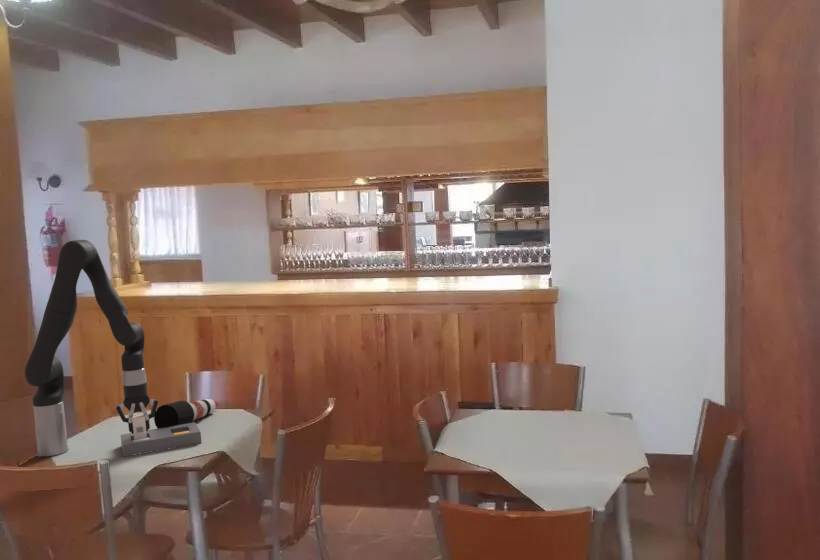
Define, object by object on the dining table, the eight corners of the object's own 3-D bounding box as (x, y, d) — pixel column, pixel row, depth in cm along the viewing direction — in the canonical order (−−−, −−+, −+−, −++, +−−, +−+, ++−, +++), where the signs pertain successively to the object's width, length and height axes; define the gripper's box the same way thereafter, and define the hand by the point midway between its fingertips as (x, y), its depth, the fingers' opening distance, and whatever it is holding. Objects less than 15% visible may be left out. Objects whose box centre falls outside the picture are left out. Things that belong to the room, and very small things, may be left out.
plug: (135, 451, 247) (132, 419, 246) (134, 447, 251) (131, 416, 250) (148, 449, 249) (145, 417, 248) (147, 445, 253) (143, 414, 252)
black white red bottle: (221, 421, 296) (230, 398, 295) (172, 438, 263) (182, 412, 262) (200, 409, 298) (210, 387, 297) (149, 424, 266) (160, 399, 265)
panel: (123, 457, 242) (122, 444, 241) (121, 446, 254) (120, 434, 254) (201, 443, 252) (200, 431, 251) (195, 433, 264) (194, 421, 264)
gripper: (112, 387, 242) (117, 438, 244) (157, 381, 248) (162, 430, 249) (111, 383, 249) (116, 433, 250) (155, 377, 255) (160, 425, 256)
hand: (139, 431), depth 250 cm, fingers closed on plug, 4 cm apart
